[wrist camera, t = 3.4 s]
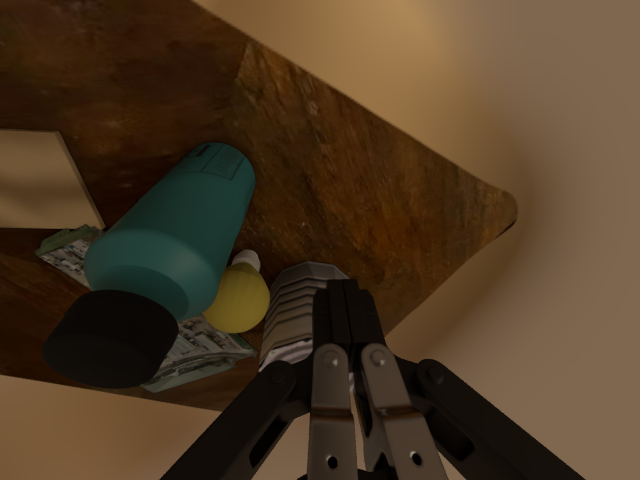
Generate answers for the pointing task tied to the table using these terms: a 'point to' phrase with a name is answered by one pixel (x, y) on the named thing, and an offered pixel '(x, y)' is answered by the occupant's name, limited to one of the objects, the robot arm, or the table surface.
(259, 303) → the light bulb
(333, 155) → the table surface
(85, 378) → the beverage bottle
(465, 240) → the table surface
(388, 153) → the table surface
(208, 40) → the table surface
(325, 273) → the can
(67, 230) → the model
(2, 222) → the mat
